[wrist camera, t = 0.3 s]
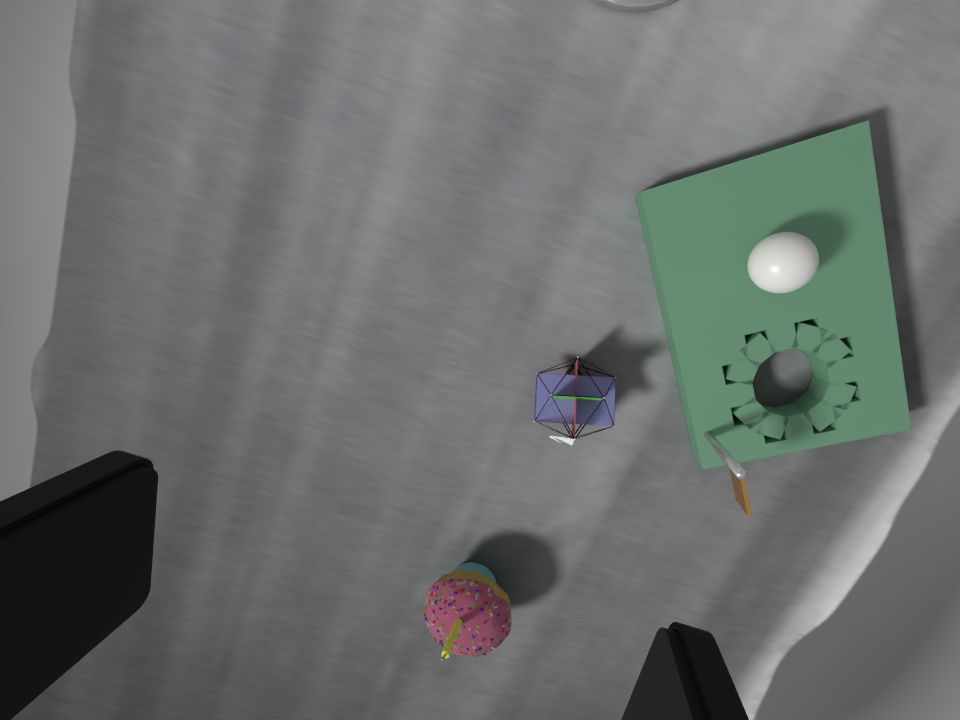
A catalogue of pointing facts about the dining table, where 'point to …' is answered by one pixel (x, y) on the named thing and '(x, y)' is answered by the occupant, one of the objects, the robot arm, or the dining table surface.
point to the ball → (783, 262)
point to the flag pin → (732, 472)
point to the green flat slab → (779, 298)
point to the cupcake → (468, 611)
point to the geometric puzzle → (575, 400)
